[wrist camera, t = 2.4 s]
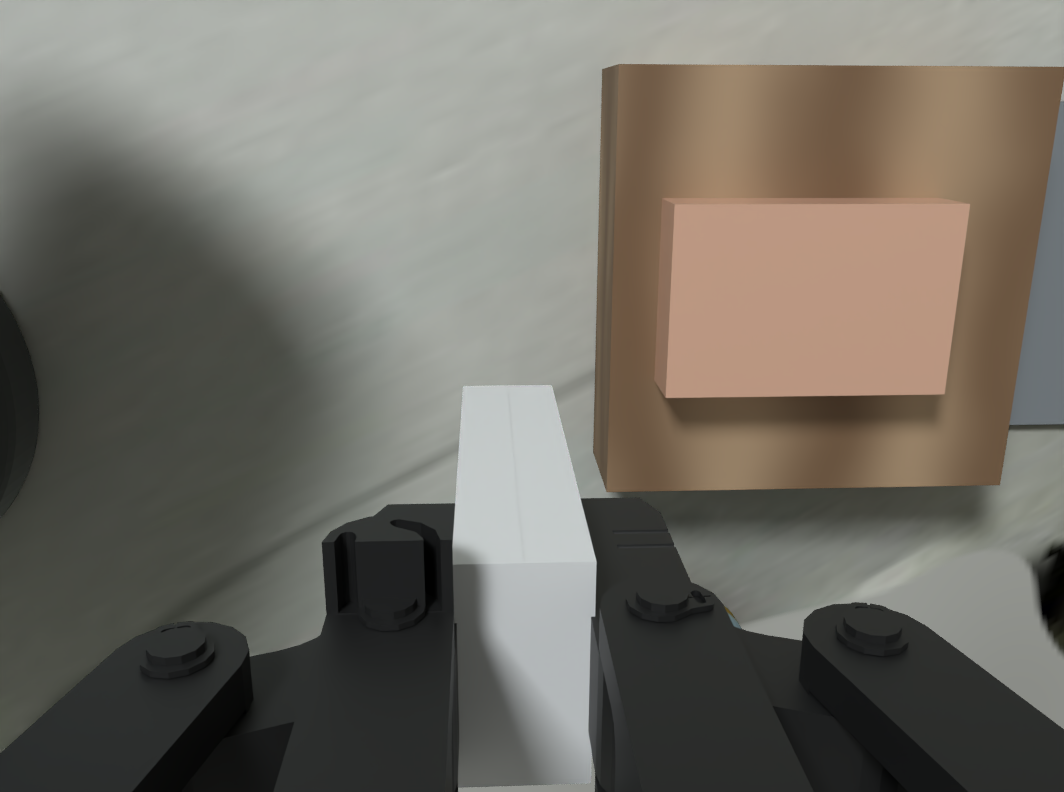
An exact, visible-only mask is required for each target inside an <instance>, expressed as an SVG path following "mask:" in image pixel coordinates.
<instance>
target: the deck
mask: <svg viewBox="0 0 1064 792" xmlns="http://www.w3.org/2000/svg"><path fill="white" fill-rule="evenodd" d="M1063 81H1064V67H992V66H826V65H661V64H618V65H615V66H611V67H608V68H605V69H602V105H601V148H600V190H599V232H598V275H597V317H596V359H595V402H594V444H593V453H594V456H595V459H596V462H597V465H598V468H599V471H600V473H601V476H602V479H603V482H604V485H605V488H606V491H607V492H639V491H694V490H750V489H805V488H861V487H917V486H972V485H1000V481H1001V474H1002V468H1003V462H1004V455H1005V449H1006V443H1007V436H1008V430H1009V424H1010V417H1011V411H1012V404H1013V398H1014V392H1015V385H1016V379H1017V373H1018V366H1019V360H1020V354H1021V347H1022V341H1023V335H1024V328H1025V322H1026V316H1027V309H1028V303H1029V297H1030V290H1031V284H1032V278H1033V271H1034V265H1035V259H1036V252H1037V246H1038V240H1039V233H1040V227H1041V221H1042V214H1043V208H1044V202H1045V195H1046V189H1047V183H1048V176H1049V170H1050V164H1051V157H1052V151H1053V145H1054V138H1055V132H1056V126H1057V119H1058V113H1059V106H1060V100H1061V94H1062V87H1063ZM662 198H943V199H948V200H953V201H958V202H963V203H968V204H970V210H969V218H968V225H967V232H966V240H965V247H964V255H963V262H962V269H961V277H960V284H959V291H958V299H957V306H956V314H955V321H954V328H953V336H952V343H951V350H950V358H949V365H948V373H947V380H946V387H945V394H938V395H860V396H782V397H703V398H665V396H664V395H663V393H662V392H661V390H660V388H659V387H658V385H657V384H656V382H655V381H654V378H655V355H656V331H657V308H658V284H659V260H660V237H661V213H662Z"/></svg>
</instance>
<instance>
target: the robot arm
mask: <svg viewBox="0 0 1064 792" xmlns="http://www.w3.org/2000/svg"><path fill="white" fill-rule="evenodd" d="M38 421H39V406H38V393H37V385H36V380H35V374H34V370H33V366H32V362H31V359H30V355H29V352H28V349H27V347H26V344H25V341H24V339H23V336H22V334H21V332H20V330H19V327H18V325H17V323H16V321H15V319H14V317H13V316H12V314H11V312H10V310H9V308H8V307H7V305H6V304H5V302H4V300H3V299H2V297H1V296H0V518H1V517H2V516H3V514H4V513H5V512H6V510H7V509H8V508H9V507H10V505H11V504H12V502H13V501H14V499H15V497H16V496H17V494H18V492H19V491H20V489H21V487H22V485H23V483H24V481H25V478H26V476H27V473H28V471H29V468H30V465H31V462H32V459H33V455H34V451H35V446H36V441H37V433H38ZM322 552H323V567H324V582H325V597H326V612H327V615H326V619H325V622H324V625H323V629H322V632H321V635H320V636H319V637H317V638H315V639H313V640H311V641H308V642H306V643H303V644H301V645H299V646H295V647H291V648H288V649H284V650H280V651H276V652H271V653H266V654H261V655H256V656H251V657H250V655H249V648H248V644H247V640H246V637H245V636H244V635H243V634H241V633H240V632H238V631H237V630H236V629H234V628H233V627H229V626H225V625H221V624H217V623H213V622H192V621H188V622H179V623H177V624H176V625H174V623H173V624H169V625H164V626H161V627H158V628H157V629H155V630H153V631H150V632H147V633H145V634H142V635H139V636H137V637H135V638H133V639H132V640H130V641H129V642H127V643H126V644H124V645H123V646H121V647H120V648H118V649H117V650H115V651H114V652H113V653H112V654H111V655H110V656H109V657H107V658H106V659H105V660H104V661H103V662H102V663H101V664H100V665H99V666H97V667H96V668H95V669H94V670H93V671H92V672H91V673H90V674H88V675H87V676H86V677H85V678H84V679H83V680H82V681H81V682H80V683H78V684H77V685H76V686H75V687H74V688H73V689H72V690H71V691H69V692H68V693H67V694H66V695H65V696H64V697H63V698H62V699H61V700H59V701H58V702H57V703H56V704H55V705H54V706H53V707H52V708H51V709H49V710H48V711H47V712H46V713H45V714H44V715H43V716H42V717H40V718H39V719H38V720H37V721H36V722H35V723H34V724H33V725H32V726H30V727H29V728H28V729H27V730H26V731H25V732H24V733H23V734H21V735H20V736H19V737H18V738H17V739H16V740H15V741H14V742H13V743H11V744H10V745H9V746H8V747H7V748H6V749H5V750H4V751H2V752H1V753H0V792H458V787H489V786H521V785H552V784H583V783H591V762H592V760H591V759H592V756H593V762H594V768H595V792H1064V729H1063V728H1061V727H1060V726H1058V725H1057V724H1056V723H1054V722H1053V721H1052V720H1050V719H1049V718H1048V717H1046V716H1045V715H1044V714H1042V713H1041V712H1040V711H1039V710H1037V709H1036V708H1034V707H1033V706H1032V705H1031V704H1029V703H1028V702H1027V701H1025V700H1024V699H1023V698H1021V697H1020V696H1019V695H1017V694H1016V693H1015V692H1013V691H1012V690H1010V689H1009V688H1008V687H1007V686H1005V685H1004V684H1003V683H1001V682H1000V681H999V680H997V679H996V678H995V677H993V676H992V675H991V674H989V673H988V672H987V671H985V670H984V669H983V668H981V667H980V666H979V665H977V664H976V663H975V662H974V661H972V660H971V659H970V658H968V657H967V656H966V655H964V654H963V653H962V652H960V651H959V650H958V649H956V648H955V647H953V646H952V645H951V644H950V643H948V642H947V641H946V640H944V639H943V638H942V637H940V636H939V635H937V634H936V633H935V632H934V631H932V630H931V629H930V628H928V627H927V626H925V625H923V624H922V623H920V622H918V621H916V620H915V619H913V618H911V617H909V616H908V615H905V614H902V613H899V612H896V611H892V610H890V609H888V608H886V607H884V606H880V605H875V604H870V605H867V603H857V602H855V603H851V604H833V605H830V606H826V607H823V608H820V609H817V610H814V611H813V612H812V613H811V614H810V615H809V616H808V617H807V618H806V619H805V620H804V627H803V639H802V641H800V640H794V639H787V638H781V637H774V636H768V635H763V634H758V633H754V632H749V631H746V630H743V629H740V628H737V627H734V625H733V623H732V621H731V619H730V617H729V615H728V613H727V611H726V609H725V607H724V605H723V604H722V602H721V601H720V600H719V599H718V598H717V597H716V596H715V595H714V593H712V592H710V591H708V590H706V589H704V588H702V587H701V586H699V585H697V584H694V583H691V581H690V579H689V577H688V574H687V572H686V570H685V568H684V565H683V563H682V561H681V558H680V556H679V554H678V552H677V549H676V547H674V543H673V540H672V538H671V536H670V534H669V533H668V529H667V527H666V525H665V522H664V520H663V518H662V516H661V513H660V512H659V511H657V510H656V509H655V508H653V507H652V506H650V505H649V504H647V503H646V502H644V501H643V500H642V499H640V498H587V499H581V498H580V494H579V491H578V487H577V483H576V479H575V475H574V471H573V467H572V463H571V459H570V455H569V451H568V447H567V443H566V439H565V435H564V431H563V428H562V424H561V420H560V416H559V412H558V408H557V404H556V400H555V396H554V392H553V388H552V385H513V386H463V395H462V410H461V425H460V440H459V455H458V470H457V485H456V500H455V503H454V504H395V505H387V506H386V507H384V508H383V509H382V510H381V511H380V512H378V513H377V514H376V515H375V516H373V517H367V518H363V519H360V520H356V521H352V522H348V523H346V524H344V525H342V526H340V527H338V528H337V529H335V530H333V531H331V532H330V533H329V534H328V535H327V537H326V538H325V539H324V540H323V542H322Z"/></svg>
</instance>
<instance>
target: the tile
mask: <svg viewBox="0 0 1064 792" xmlns="http://www.w3.org/2000/svg"><path fill="white" fill-rule="evenodd" d="M969 210H970V204H968V203H963V202H958V201H953V200H948V199H943V198H662V213H661V237H660V260H659V284H658V308H657V331H656V355H655V378H654V381H655V382H656V384H657V385H658V387H659V388H660V390H661V392H662V393H663V395H664V396H665V398H703V397H782V396H860V395H938V394H945V387H946V380H947V373H948V365H949V358H950V350H951V343H952V336H953V328H954V321H955V314H956V306H957V299H958V291H959V284H960V277H961V269H962V262H963V255H964V247H965V240H966V232H967V225H968V218H969Z"/></svg>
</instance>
